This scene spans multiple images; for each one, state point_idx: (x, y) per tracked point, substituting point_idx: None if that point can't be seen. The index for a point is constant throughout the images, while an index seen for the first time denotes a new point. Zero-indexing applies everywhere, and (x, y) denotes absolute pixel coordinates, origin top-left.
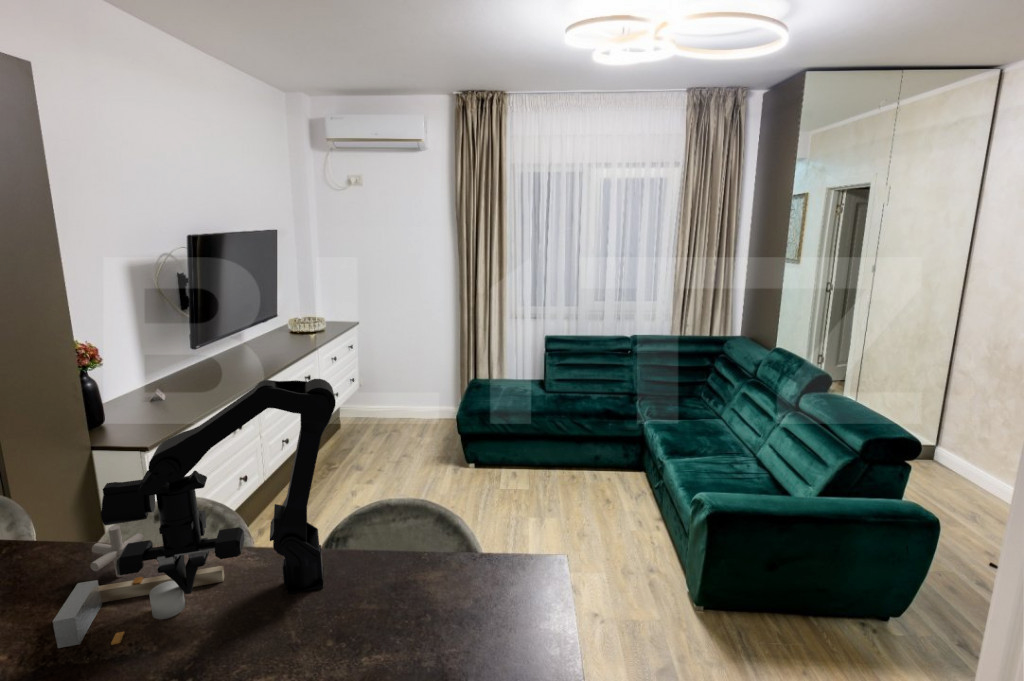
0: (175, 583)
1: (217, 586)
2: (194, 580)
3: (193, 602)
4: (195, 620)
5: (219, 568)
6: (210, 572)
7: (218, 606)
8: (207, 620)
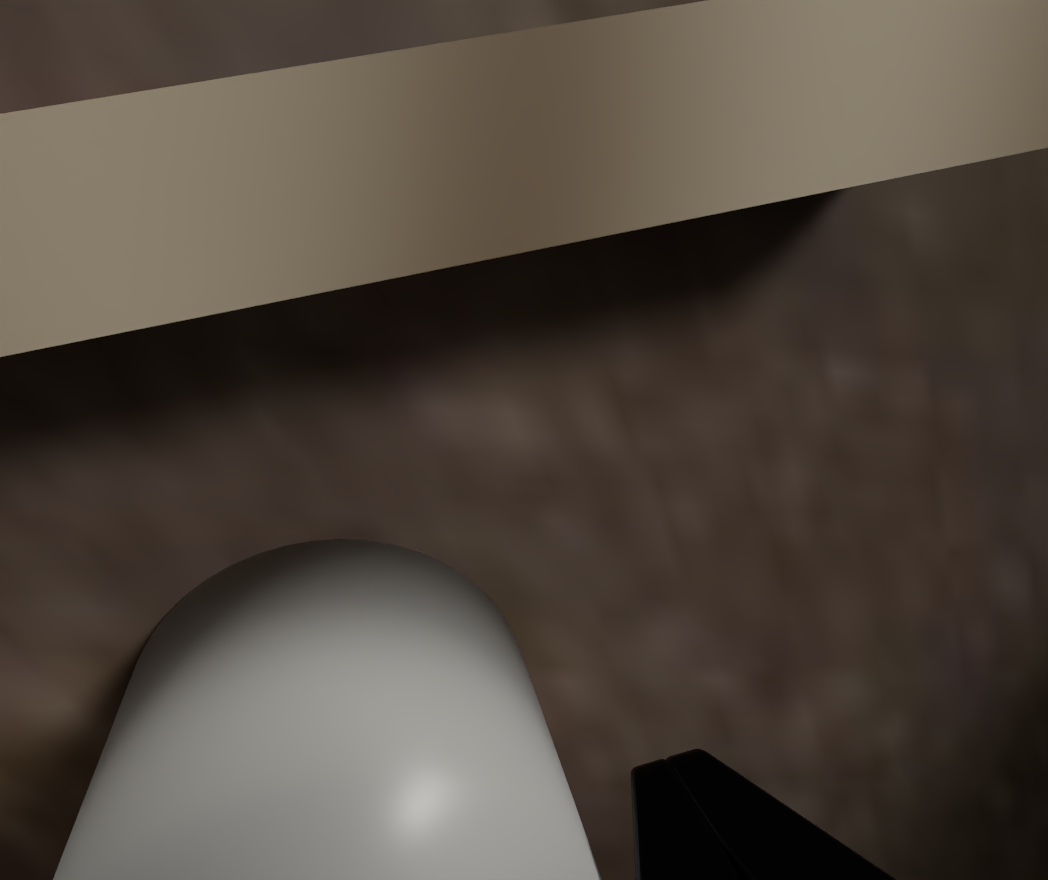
0: (440, 863)
1: (824, 261)
2: (837, 852)
3: (600, 586)
4: None
5: (1009, 66)
6: (853, 185)
7: (902, 654)
8: None
